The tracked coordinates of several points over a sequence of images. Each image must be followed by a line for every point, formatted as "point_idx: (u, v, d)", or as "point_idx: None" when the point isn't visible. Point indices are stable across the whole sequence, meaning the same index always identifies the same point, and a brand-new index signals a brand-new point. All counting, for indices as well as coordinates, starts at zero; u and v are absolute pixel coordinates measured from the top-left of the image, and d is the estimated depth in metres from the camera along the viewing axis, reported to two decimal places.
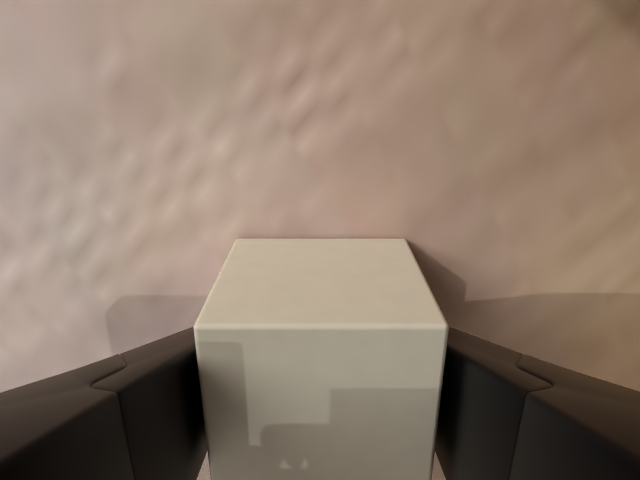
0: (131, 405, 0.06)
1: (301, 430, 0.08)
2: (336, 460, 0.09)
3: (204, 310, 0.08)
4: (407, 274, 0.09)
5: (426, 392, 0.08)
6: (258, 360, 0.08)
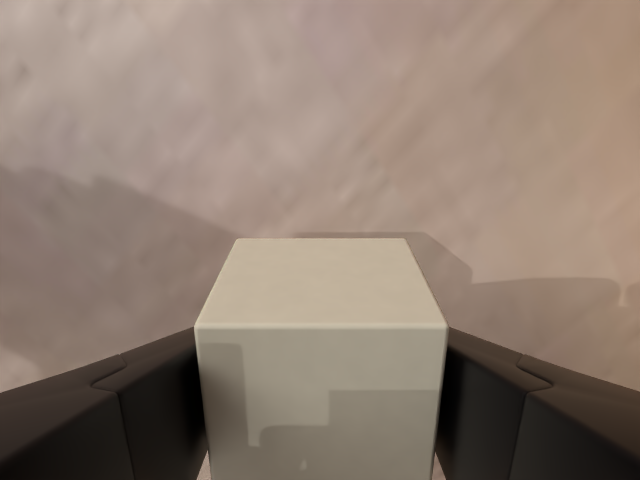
0: (131, 405, 0.06)
1: (301, 430, 0.08)
2: (336, 460, 0.09)
3: (204, 310, 0.08)
4: (407, 274, 0.09)
5: (426, 392, 0.08)
6: (259, 361, 0.08)
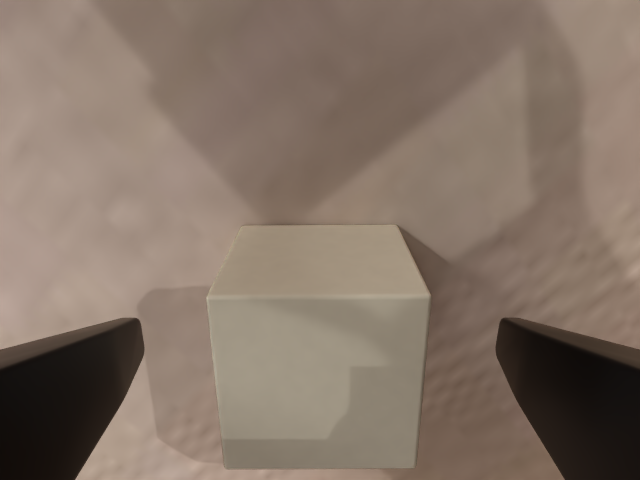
0: None
1: (301, 392, 0.09)
2: (333, 419, 0.10)
3: (215, 284, 0.09)
4: (397, 254, 0.10)
5: (413, 356, 0.09)
6: (263, 328, 0.09)
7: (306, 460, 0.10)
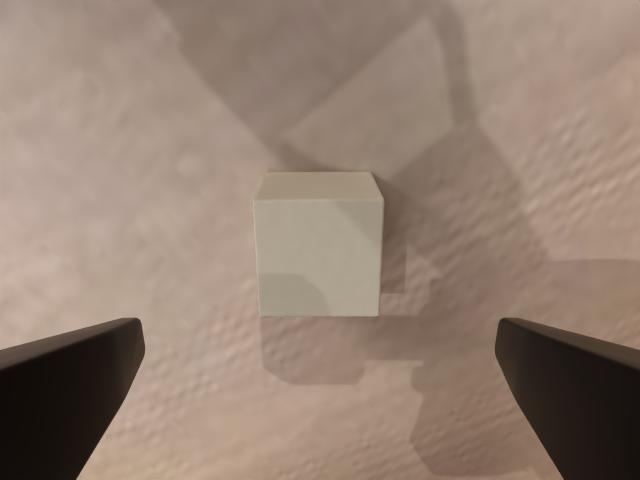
0: None
1: (307, 262, 0.16)
2: (327, 281, 0.16)
3: (256, 195, 0.15)
4: (367, 184, 0.17)
5: (374, 238, 0.15)
6: (285, 220, 0.15)
7: (310, 310, 0.16)
